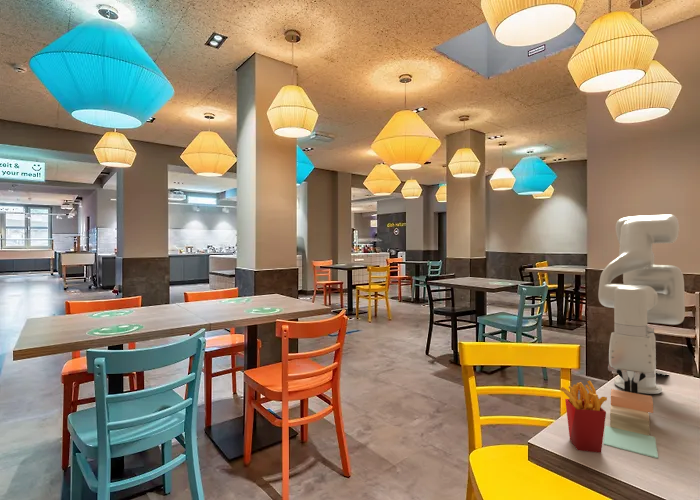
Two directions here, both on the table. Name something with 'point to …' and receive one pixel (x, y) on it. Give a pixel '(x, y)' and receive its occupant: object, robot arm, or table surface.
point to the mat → (630, 441)
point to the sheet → (630, 420)
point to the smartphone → (661, 372)
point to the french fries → (585, 417)
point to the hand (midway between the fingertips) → (630, 394)
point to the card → (632, 400)
